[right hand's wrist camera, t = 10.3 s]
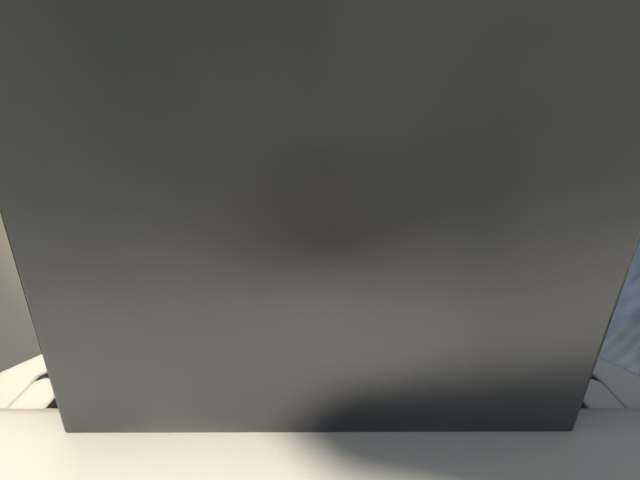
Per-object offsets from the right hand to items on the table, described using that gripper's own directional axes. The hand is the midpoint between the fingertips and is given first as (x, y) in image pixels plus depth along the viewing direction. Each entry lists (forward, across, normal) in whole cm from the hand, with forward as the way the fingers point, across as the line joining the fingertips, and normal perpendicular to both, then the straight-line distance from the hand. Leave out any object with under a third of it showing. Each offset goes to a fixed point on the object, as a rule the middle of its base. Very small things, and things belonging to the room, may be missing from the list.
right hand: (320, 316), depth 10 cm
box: (+6, 0, +6) cm, 9 cm away
